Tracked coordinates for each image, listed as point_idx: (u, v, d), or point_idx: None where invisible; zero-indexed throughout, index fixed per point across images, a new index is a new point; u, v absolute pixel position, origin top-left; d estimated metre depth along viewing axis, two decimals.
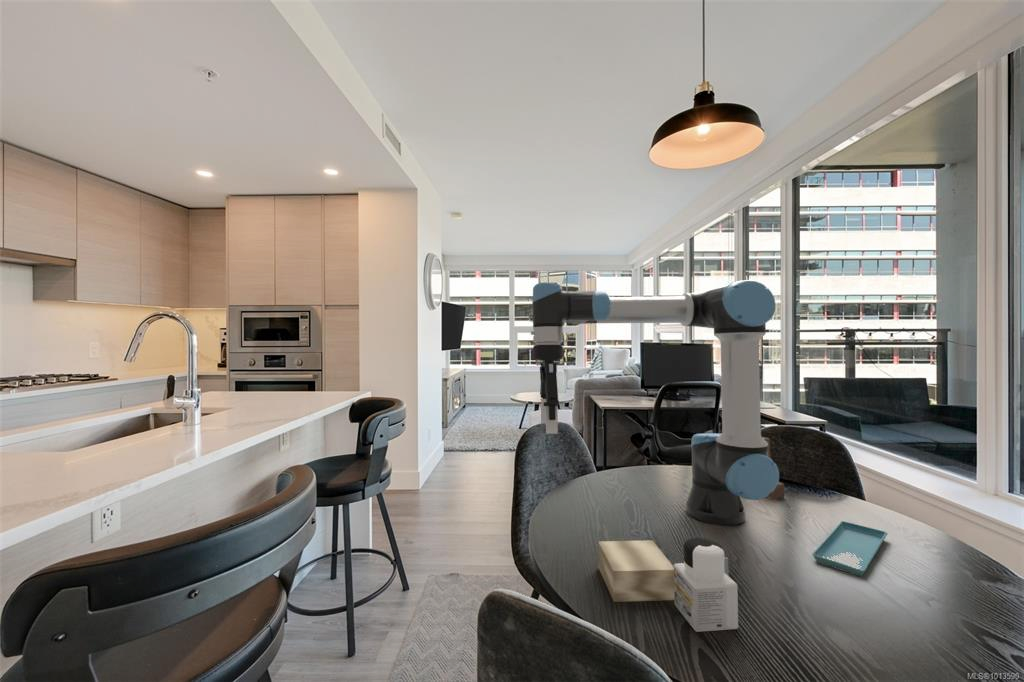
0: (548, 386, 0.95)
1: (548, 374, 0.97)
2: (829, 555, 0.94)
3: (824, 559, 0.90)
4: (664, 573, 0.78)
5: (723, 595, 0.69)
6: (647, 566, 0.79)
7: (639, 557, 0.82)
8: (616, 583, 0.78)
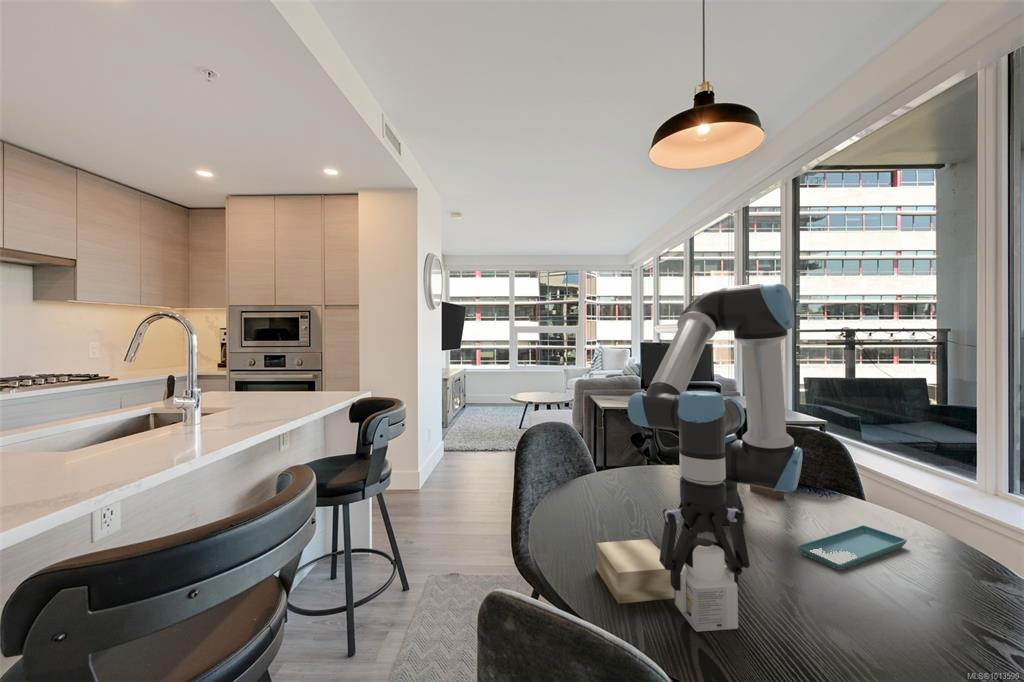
0: (663, 540, 0.74)
1: (665, 524, 0.74)
2: None
3: (807, 551, 0.93)
4: (666, 572, 0.78)
5: (723, 595, 0.69)
6: (650, 565, 0.80)
7: (639, 557, 0.83)
8: (620, 585, 0.77)
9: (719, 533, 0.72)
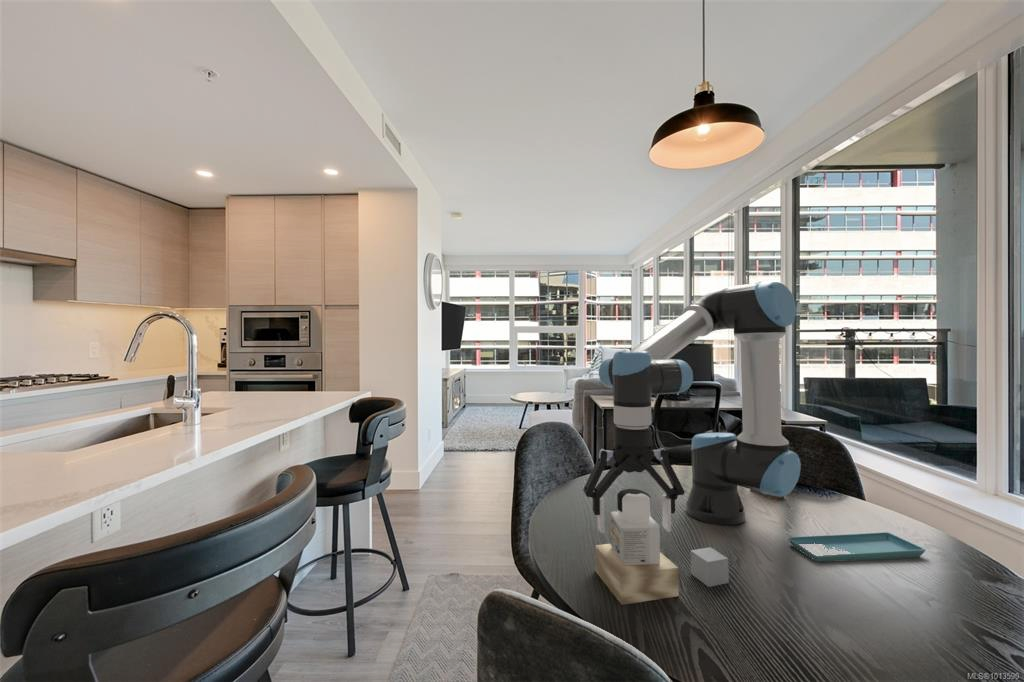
0: (591, 473, 0.85)
1: (597, 460, 0.85)
2: None
3: (794, 543, 0.97)
4: (668, 572, 0.79)
5: (646, 534, 0.80)
6: (651, 566, 0.80)
7: None
8: (623, 587, 0.77)
9: (649, 470, 0.83)
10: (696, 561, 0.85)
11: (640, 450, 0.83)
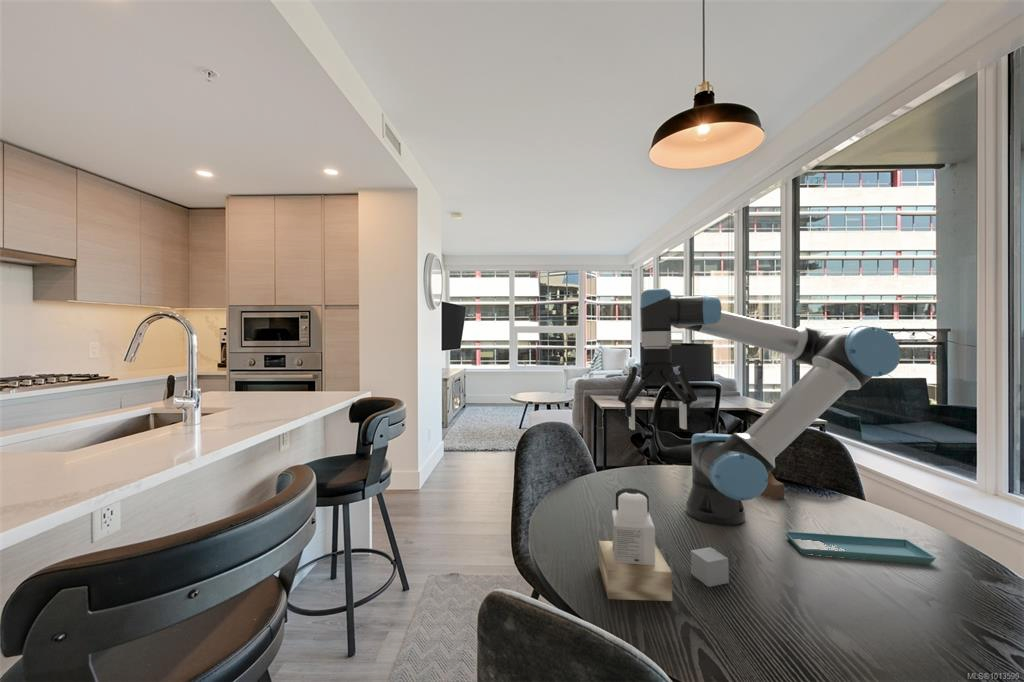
0: (624, 385, 1.08)
1: (629, 375, 1.08)
2: None
3: (788, 536, 1.00)
4: (660, 575, 0.78)
5: (640, 534, 0.80)
6: (643, 566, 0.80)
7: None
8: (610, 582, 0.78)
9: (669, 381, 1.06)
10: (696, 561, 0.85)
11: (662, 366, 1.07)
